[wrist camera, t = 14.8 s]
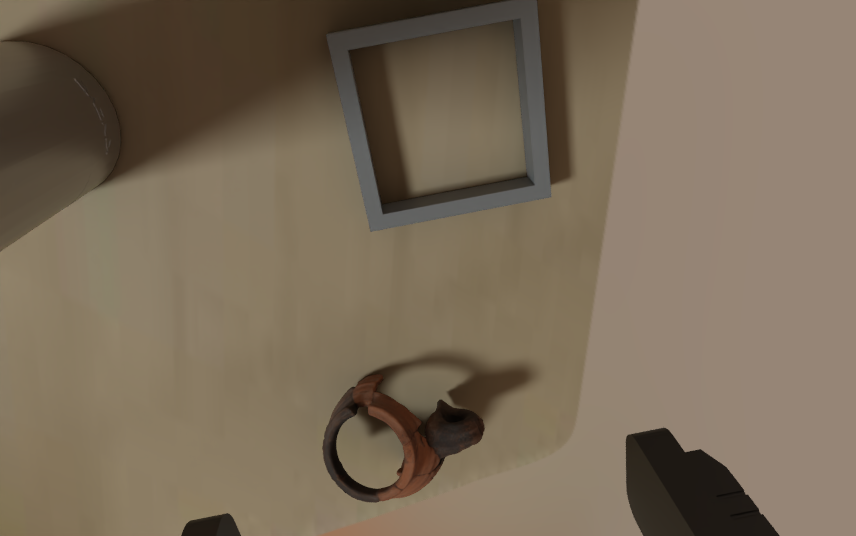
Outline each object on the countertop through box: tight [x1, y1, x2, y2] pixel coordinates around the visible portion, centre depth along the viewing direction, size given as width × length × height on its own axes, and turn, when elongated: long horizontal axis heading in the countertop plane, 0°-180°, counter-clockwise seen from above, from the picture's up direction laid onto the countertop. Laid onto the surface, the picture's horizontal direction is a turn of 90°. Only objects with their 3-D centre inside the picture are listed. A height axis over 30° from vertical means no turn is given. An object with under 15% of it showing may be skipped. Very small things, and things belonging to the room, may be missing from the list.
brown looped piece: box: [322, 374, 485, 502], centre depth 43 cm, size 12×10×8 cm
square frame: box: [326, 0, 551, 232], centre depth 35 cm, size 12×12×2 cm
